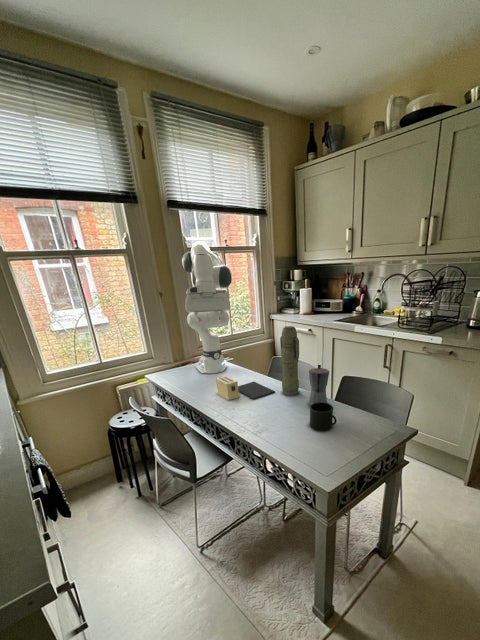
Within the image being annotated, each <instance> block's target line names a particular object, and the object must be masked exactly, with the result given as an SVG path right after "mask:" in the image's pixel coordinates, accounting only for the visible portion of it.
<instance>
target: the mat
mask: <svg viewBox="0 0 480 640" xmlns="http://www.w3.org/2000/svg"><path fill="white" fill-rule="evenodd" d="M238 392H239V394H242V395H244V396H245V397H247V398H249V399H252V400H253V401H254V400H257V399H260V398H263V397H266V396H270V395H272V394H274V393H276V392H275V390H273V389H272V388H269V387H267V386H264V385H263V384H260V383H259V382H256V381H251V382H247V383H244V384H241V385H238Z"/></svg>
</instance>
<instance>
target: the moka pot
mask: <svg viewBox="0 0 480 640" xmlns="http://www.w3.org/2000/svg"><path fill="white" fill-rule="evenodd" d="M329 376H330V370H329V369H327V368H323V367H322V365H321V364H317V367H313V368H311V369H309V370H308V377H309V385H310V393H309V401H308V405H309V406H311V405H312V404H314V403H320V402H322V403H328V398H327V386H328V382H329Z"/></svg>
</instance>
